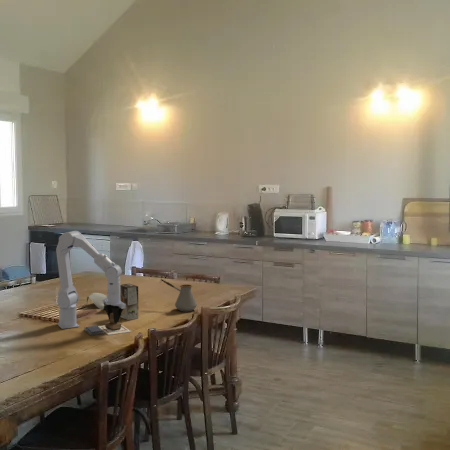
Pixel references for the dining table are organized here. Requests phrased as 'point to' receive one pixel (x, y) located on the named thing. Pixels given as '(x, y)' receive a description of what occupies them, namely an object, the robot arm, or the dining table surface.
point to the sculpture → (98, 299)
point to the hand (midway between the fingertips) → (114, 321)
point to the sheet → (118, 331)
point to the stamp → (112, 323)
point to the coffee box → (129, 301)
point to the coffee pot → (184, 298)
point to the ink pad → (94, 330)
